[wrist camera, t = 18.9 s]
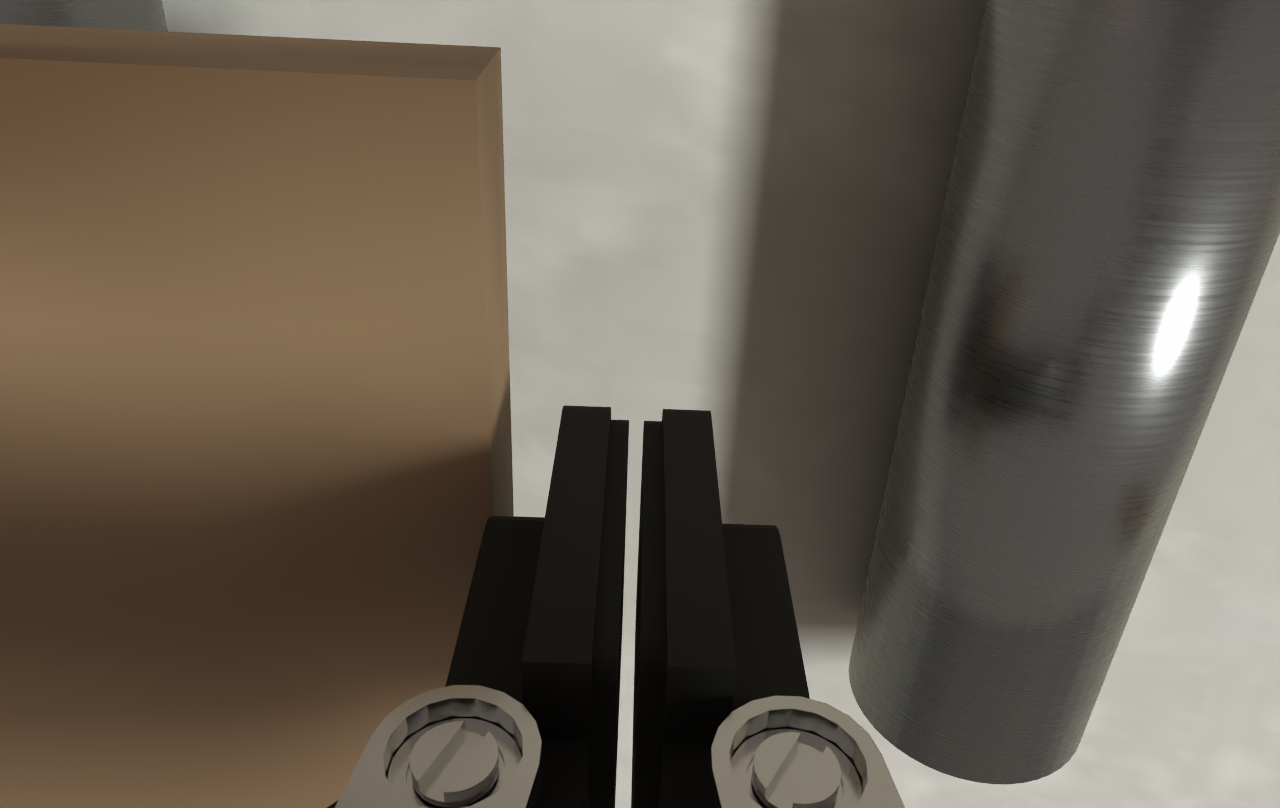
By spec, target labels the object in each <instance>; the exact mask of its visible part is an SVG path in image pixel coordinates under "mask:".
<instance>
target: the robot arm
mask: <svg viewBox="0 0 1280 808" xmlns="http://www.w3.org/2000/svg"><path fill="white" fill-rule="evenodd" d="M628 435H629V420H611V407H588V406H563V410H562V416H561V422H560V428H559V434H558V441H557V447H556V453H555V459H554V465H553V471H552V478H551V484H550V490H549V496H548V502H547V508H546V515H545V518H541V517H512V516H490V517H489V518H488V519H487V522H486V525H485V529H484V533H483V537H482V541H481V545H480V549H479V553H478V557H477V561H476V565H475V569H474V573H473V577H472V581H471V585H470V589H469V593H468V597H467V601H466V605H465V609H464V613H463V617H462V621H461V625H460V629H459V633H458V637H457V642H456V646H455V650H454V654H453V658H452V662H451V666H450V670H449V674H448V678H447V682H446V686H445V687H442V688H437V689H432V690H428V691H426V692H424V693H422V694H420V695H418V696H415V697H413V698H411V699H409V700H407V701H405V702H403V703H402V704H401V705H400V706H398V707H397V708H396V709H395V710H393V711H392V712H391V713H390V714H388V715H387V716H386V717H385V718H384V719H383V721H382V722H381V723H380V725H379V726H378V728H377V729H376V730H375V732H374V733H373V734H372V736H371V737H370V739H369V741H368V743H367V745H366V747H365V749H364V751H363V753H362V755H361V757H360V759H359V761H358V763H357V765H356V767H355V769H354V771H353V773H352V775H351V777H350V779H349V780H348V782H347V784H346V786H345V788H344V790H343V792H342V794H341V796H340V798H339V800H338V801H336V802H335V803H333V804H332V805H330V806H328V807H327V808H615V790H616V766H617V741H618V717H619V692H620V668H621V643H622V618H623V589H624V558H625V527H626V496H627V465H628ZM631 808H905V807H904V805H903V802H902V800H901V798H900V795H899V793H898V791H897V788H896V786H895V784H894V782H893V779H892V777H891V775H890V772H889V770H888V768H887V765H886V763H885V761H884V758H883V756H882V754H881V752H880V751H879V749H878V747H877V746H876V744H875V743H874V741H873V740H872V738H871V736H870V735H869V733H868V732H867V731H866V730H864V729H863V728H862V727H861V726H860V725H859V724H858V723H857V722H856V721H854V720H853V719H852V718H851V717H850V716H849V715H847V714H845V713H843V712H841V711H839V710H837V709H836V708H834V707H832V706H830V705H828V704H826V703H823V702H819V701H816V700H812V699H810V697H809V692H808V686H807V681H806V675H805V670H804V664H803V659H802V653H801V648H800V642H799V637H798V631H797V626H796V620H795V615H794V609H793V604H792V598H791V593H790V587H789V582H788V576H787V571H786V565H785V560H784V555H783V549H782V544H781V538H780V534H779V530H778V528H777V527H776V526H772V525H743V524H722V519H721V509H720V499H719V489H718V479H717V469H716V459H715V449H714V439H713V429H712V419H711V412H710V411H701V410H673V409H663V414H662V422H660V421H644V432H643V456H642V480H641V504H640V528H639V552H638V576H637V600H636V630H635V672H634V714H633V757H632V799H631Z"/></svg>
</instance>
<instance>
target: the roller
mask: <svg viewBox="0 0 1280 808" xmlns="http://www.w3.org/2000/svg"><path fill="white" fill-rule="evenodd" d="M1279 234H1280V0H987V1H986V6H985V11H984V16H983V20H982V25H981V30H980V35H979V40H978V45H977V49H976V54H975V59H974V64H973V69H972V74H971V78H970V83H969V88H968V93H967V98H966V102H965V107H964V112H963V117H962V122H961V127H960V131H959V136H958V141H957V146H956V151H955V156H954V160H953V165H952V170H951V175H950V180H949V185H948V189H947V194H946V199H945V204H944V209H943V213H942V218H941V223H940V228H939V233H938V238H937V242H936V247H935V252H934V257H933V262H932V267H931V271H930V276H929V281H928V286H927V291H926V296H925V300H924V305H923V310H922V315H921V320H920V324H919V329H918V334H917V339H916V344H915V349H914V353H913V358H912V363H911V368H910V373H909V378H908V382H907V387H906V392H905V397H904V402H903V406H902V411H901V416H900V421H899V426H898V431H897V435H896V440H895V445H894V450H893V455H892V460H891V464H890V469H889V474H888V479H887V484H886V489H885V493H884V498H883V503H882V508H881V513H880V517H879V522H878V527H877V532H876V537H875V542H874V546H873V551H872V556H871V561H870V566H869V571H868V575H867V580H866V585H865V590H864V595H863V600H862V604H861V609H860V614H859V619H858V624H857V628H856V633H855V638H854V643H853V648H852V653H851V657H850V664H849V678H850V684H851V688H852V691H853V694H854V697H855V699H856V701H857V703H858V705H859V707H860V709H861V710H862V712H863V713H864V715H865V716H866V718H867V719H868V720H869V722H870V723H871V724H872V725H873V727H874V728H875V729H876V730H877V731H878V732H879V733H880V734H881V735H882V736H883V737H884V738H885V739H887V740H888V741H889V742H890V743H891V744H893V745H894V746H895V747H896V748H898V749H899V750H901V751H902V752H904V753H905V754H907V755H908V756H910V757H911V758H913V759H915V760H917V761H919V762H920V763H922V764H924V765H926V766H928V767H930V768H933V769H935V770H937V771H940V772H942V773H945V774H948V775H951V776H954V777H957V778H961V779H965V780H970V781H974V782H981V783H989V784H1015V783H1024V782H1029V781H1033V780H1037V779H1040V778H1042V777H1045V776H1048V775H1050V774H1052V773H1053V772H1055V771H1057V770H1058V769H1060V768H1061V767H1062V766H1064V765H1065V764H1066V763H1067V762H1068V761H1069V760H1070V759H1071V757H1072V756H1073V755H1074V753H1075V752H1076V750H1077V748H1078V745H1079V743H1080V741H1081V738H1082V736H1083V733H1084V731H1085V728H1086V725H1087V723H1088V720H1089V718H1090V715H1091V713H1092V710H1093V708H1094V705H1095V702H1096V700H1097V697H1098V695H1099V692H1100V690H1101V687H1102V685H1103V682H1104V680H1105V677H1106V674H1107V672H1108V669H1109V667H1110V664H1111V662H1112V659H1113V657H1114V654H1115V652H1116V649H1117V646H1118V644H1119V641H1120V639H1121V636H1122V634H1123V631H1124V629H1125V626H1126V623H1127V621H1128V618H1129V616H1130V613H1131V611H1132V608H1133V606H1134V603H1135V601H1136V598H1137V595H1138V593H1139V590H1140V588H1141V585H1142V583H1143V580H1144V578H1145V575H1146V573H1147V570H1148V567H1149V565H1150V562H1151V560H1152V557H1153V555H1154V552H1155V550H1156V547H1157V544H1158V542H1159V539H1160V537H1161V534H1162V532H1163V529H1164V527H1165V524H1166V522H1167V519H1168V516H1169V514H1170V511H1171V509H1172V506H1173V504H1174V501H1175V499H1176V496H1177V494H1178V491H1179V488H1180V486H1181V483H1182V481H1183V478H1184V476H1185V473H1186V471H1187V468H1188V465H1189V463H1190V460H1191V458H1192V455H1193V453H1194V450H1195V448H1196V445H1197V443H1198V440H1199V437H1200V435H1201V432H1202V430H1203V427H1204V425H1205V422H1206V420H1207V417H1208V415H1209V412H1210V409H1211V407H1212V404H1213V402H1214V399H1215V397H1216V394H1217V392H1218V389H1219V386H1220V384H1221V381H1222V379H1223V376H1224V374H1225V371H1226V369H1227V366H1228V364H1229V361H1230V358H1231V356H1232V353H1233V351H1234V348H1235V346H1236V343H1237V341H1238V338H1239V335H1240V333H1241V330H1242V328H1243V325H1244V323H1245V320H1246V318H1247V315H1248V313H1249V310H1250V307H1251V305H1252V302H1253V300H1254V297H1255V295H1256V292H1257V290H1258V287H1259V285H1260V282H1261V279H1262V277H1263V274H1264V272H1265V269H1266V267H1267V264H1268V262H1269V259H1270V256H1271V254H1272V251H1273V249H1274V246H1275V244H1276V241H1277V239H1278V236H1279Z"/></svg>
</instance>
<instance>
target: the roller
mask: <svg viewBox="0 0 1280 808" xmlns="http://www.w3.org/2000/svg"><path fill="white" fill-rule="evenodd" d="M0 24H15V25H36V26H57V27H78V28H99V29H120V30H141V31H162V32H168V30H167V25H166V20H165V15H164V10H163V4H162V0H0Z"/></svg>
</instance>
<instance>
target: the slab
mask: <svg viewBox="0 0 1280 808" xmlns="http://www.w3.org/2000/svg"><path fill="white" fill-rule="evenodd" d="M490 516H512V517H514V516H513V480H512V444H511V408H510V371H509V335H508V299H507V263H506V227H505V191H504V155H503V119H502V83H501V48H498V47H477V46H456V45H435V44H414V43H393V42H372V41H351V40H330V39H309V38H288V37H267V36H246V35H225V34H204V33H183V32H162V31H141V30H120V29H99V28H78V27H57V26H36V25H15V24H0V808H327V807H328V806H330V805H332V804H333V803H335V802H336V801H338V800H339V798H340V796H341V794H342V792H343V790H344V788H345V786H346V784H347V782H348V780H349V779H350V777H351V775H352V773H353V771H354V769H355V767H356V765H357V763H358V761H359V759H360V757H361V755H362V753H363V751H364V749H365V747H366V745H367V743H368V741H369V739H370V737H371V736H372V734H373V733H374V732H375V730H376V729H377V728H378V726H379V725H380V723H381V722H382V721H383V719H384V718H385V717H386V716H387V715H388V714H390V713H391V712H392V711H393V710H395V709H396V708H397V707H398V706H400V705H401V704H402V703H403V702H405V701H407V700H409V699H411V698H413V697H415V696H418V695H420V694H422V693H424V692H426V691H428V690H432V689H437V688H442V687H445V686H446V682H447V678H448V674H449V670H450V666H451V662H452V658H453V654H454V650H455V646H456V642H457V637H458V633H459V629H460V625H461V621H462V617H463V613H464V609H465V605H466V601H467V597H468V593H469V589H470V585H471V581H472V577H473V573H474V569H475V565H476V561H477V557H478V553H479V549H480V545H481V541H482V537H483V533H484V529H485V525H486V522H487V519H488V518H489V517H490Z"/></svg>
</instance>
